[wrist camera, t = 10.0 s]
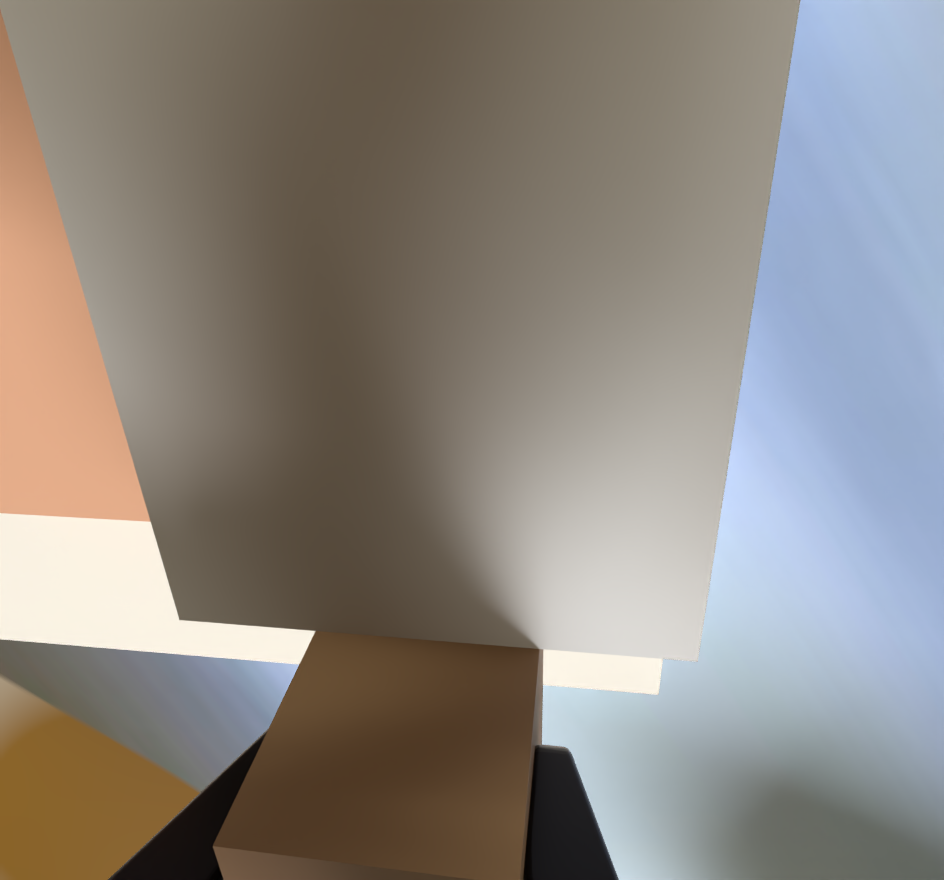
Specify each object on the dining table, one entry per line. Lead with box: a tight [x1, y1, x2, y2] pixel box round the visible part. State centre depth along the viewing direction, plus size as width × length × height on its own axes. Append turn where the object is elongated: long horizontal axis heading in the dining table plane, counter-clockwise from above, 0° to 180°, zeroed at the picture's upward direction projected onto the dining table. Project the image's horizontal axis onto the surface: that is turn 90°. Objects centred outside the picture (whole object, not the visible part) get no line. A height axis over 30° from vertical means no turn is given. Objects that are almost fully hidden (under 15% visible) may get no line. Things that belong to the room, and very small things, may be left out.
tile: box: [0, 10, 151, 522], centre depth 14 cm, size 6×2×10 cm
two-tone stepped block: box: [0, 0, 800, 880], centre depth 8 cm, size 6×15×4 cm, turn 2°
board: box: [0, 513, 663, 695], centre depth 16 cm, size 19×17×1 cm
